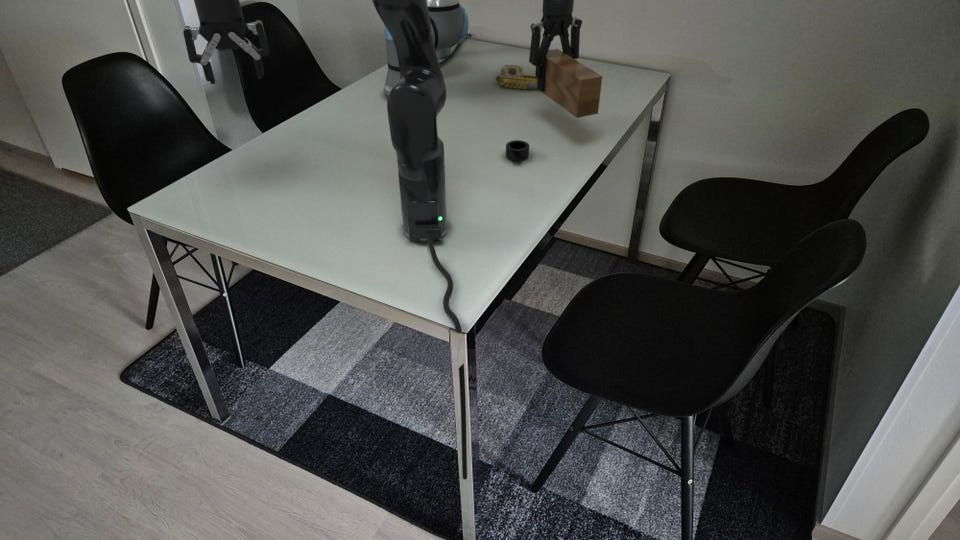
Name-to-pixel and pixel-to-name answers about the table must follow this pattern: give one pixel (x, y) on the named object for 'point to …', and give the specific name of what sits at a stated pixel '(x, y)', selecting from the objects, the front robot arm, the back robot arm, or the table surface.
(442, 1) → the back robot arm
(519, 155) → the duct tape
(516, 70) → the handgun
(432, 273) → the table surface
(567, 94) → the box
